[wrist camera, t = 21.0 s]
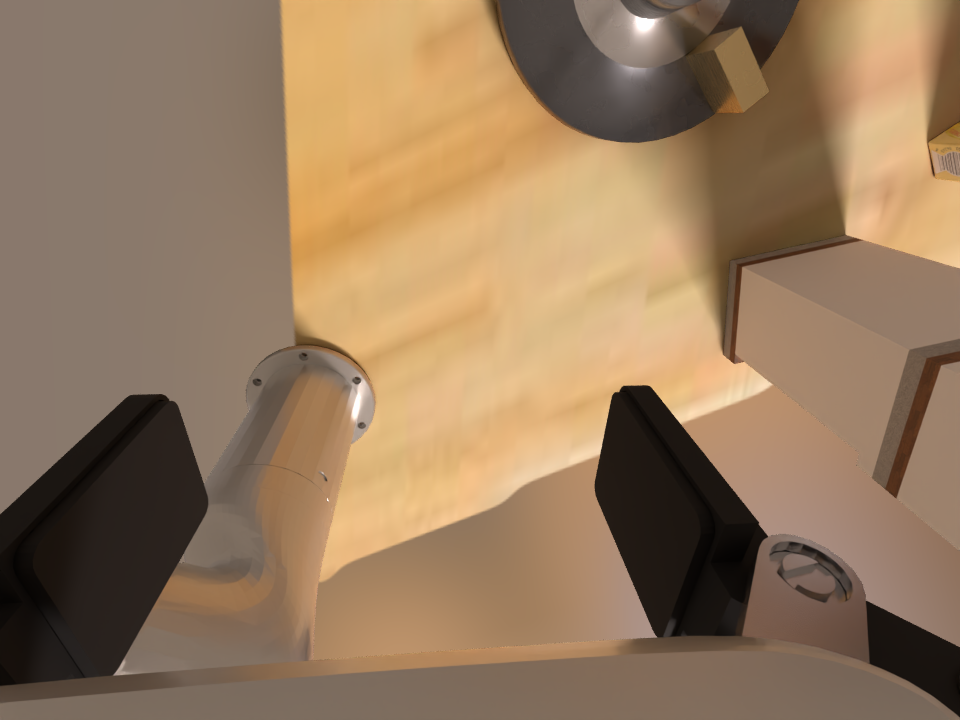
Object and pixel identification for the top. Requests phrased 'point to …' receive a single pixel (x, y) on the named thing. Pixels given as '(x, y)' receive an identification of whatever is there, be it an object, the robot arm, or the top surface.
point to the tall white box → (862, 358)
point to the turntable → (641, 61)
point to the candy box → (946, 154)
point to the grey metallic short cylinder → (655, 7)
